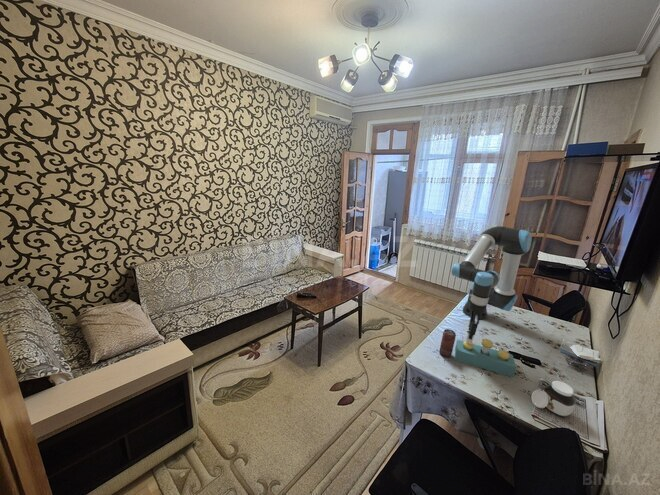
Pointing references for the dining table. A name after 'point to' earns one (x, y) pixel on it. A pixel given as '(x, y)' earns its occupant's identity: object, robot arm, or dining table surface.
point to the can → (447, 343)
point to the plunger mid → (486, 346)
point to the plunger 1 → (467, 345)
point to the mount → (485, 359)
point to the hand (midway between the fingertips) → (468, 342)
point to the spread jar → (555, 398)
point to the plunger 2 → (503, 355)
